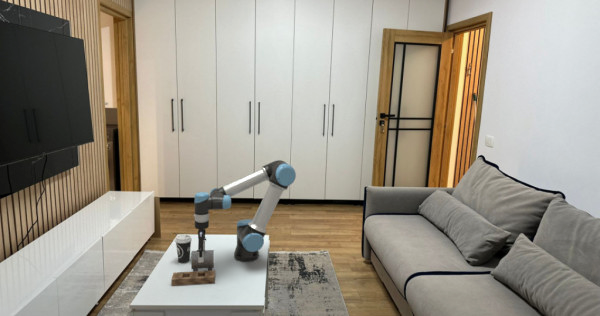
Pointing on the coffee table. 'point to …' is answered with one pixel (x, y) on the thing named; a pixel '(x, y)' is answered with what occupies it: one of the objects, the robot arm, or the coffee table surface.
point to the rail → (193, 278)
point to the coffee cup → (183, 248)
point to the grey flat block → (208, 260)
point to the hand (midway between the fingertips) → (201, 256)
